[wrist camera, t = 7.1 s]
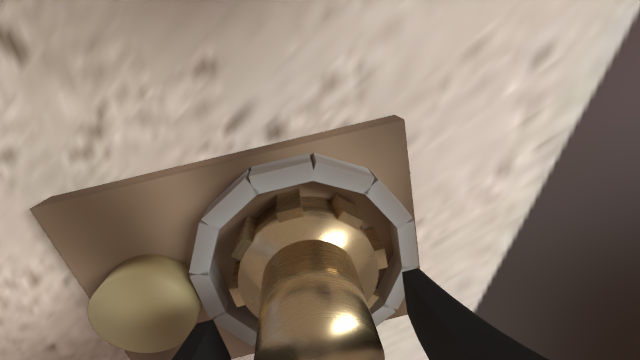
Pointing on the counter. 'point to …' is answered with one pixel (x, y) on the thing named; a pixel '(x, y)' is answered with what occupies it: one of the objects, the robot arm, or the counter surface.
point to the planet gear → (310, 279)
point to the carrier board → (222, 233)
